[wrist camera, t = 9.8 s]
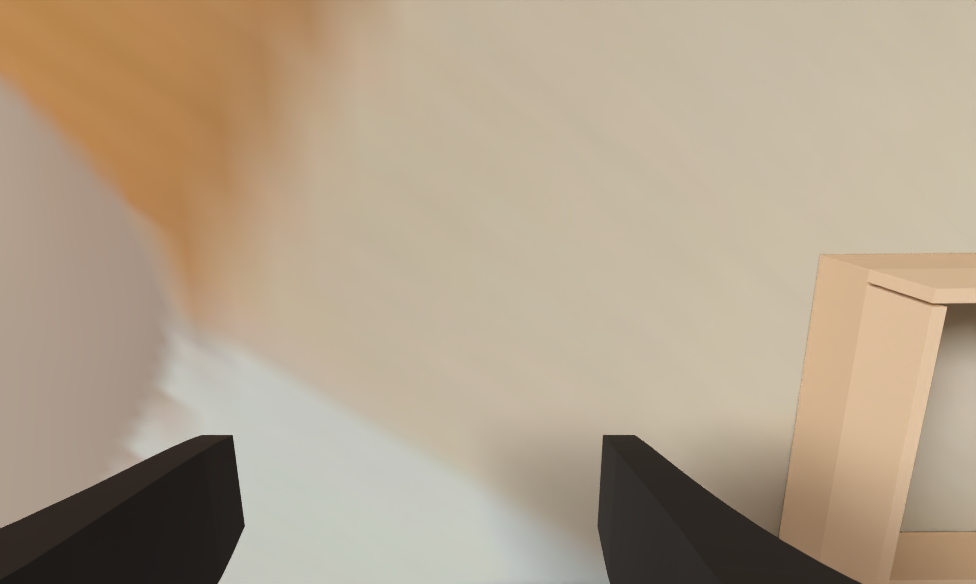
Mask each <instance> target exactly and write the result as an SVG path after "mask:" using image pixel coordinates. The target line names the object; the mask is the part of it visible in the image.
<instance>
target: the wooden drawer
mask: <svg viewBox="0 0 976 584" xmlns="http://www.w3.org/2000/svg"><path fill="white" fill-rule="evenodd" d="M937 303H976V253H958V254H849V255H820V260H819V267H818V274H817V281H816V287H815V294H814V301H813V308H812V315H811V321H810V328H809V335H808V342H807V349H806V355H805V362H804V369H803V376H802V383H801V389H800V396H799V403H798V410H797V417H796V423H795V430H794V437H793V444H792V451H791V457H790V464H789V471H788V478H787V485H786V491H785V498H784V505H783V512H782V519H781V525H780V532H779V539H781V540H782V541H784V542H786V543H788V544H789V545H791V546H793V547H795V548H796V549H798V550H800V551H802V552H803V553H805V554H807V555H809V556H810V557H812V558H814V559H816V560H817V561H819V562H821V563H823V564H825V565H827V566H828V567H830V568H832V569H834V570H836V571H838V572H840V573H842V574H844V575H846V576H848V577H850V578H852V579H854V580H856V581H858V582H860V583H862V584H976V532H900V528H901V523H902V518H903V514H904V509H905V504H906V499H907V495H908V490H909V485H910V480H911V476H912V471H913V466H914V462H915V457H916V452H917V447H918V443H919V438H920V433H921V429H922V424H923V419H924V414H925V410H926V405H927V400H928V396H929V391H930V386H931V381H932V377H933V372H934V367H935V363H936V358H937V353H938V348H939V344H940V339H941V334H942V330H943V325H944V320H945V315H946V311H947V307H946V306H943V305H940V304H937Z"/></svg>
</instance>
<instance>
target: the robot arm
mask: <svg viewBox="0 0 976 584" xmlns="http://www.w3.org/2000/svg"><path fill="white" fill-rule="evenodd" d="M244 527H245V525H244V517H243V510H242V502H241V495H240V487H239V480H238V472H237V465H236V457H235V450H234V442H233V435H201V436H198V437H195V438H192V439H190V440H187V441H185V442H182V443H180V444H178V445H176V446H174V447H171V448H169V449H167V450H165V451H163V452H161V453H159V454H157V455H155V456H152V457H150V458H148V459H146V460H144V461H142V462H140V463H138V464H136V465H134V466H132V467H130V468H128V469H126V470H124V471H122V472H120V473H118V474H116V475H114V476H112V477H110V478H108V479H106V480H104V481H102V482H100V483H98V484H96V485H94V486H92V487H90V488H88V489H85V490H83V491H81V492H79V493H77V494H75V495H73V496H70V497H68V498H66V499H64V500H62V501H60V502H57V503H55V504H53V505H51V506H49V507H47V508H44V509H42V510H40V511H38V512H36V513H34V514H31V515H29V516H28V517H25V518H23V519H21V520H19V521H16V522H14V523H12V524H9V525H7V526H5V527H3V528H0V584H218V582H219V580H220V579H221V577H222V575H223V573H224V571H225V569H226V567H227V565H228V562H229V560H230V558H231V556H232V554H233V552H234V550H235V547H236V545H237V543H238V540H239V538H240V536H241V533H242V531H243V529H244ZM598 530H599V535H600V541H601V546H602V551H603V556H604V560H605V565H606V570H607V574H608V578H609V581H610V584H862V583H860V582H858V581H856V580H854V579H852V578H850V577H848V576H846V575H844V574H842V573H840V572H838V571H836V570H834V569H832V568H830V567H828V566H827V565H825V564H823V563H821V562H819V561H817V560H816V559H814V558H812V557H810V556H809V555H807V554H805V553H803V552H802V551H800V550H798V549H796V548H795V547H793V546H791V545H789V544H788V543H786V542H784V541H782V540H781V539H779V538H777V537H776V536H774V535H773V534H771V533H769V532H768V531H766V530H764V529H763V528H761V527H760V526H758V525H757V524H755V523H754V522H752V521H751V520H749V519H748V518H746V517H745V516H743V515H742V514H740V513H739V512H737V511H736V510H734V509H733V508H731V507H730V506H728V505H727V504H725V503H724V502H723V501H721V500H720V499H718V498H717V497H716V496H714V495H713V494H711V493H710V492H709V491H707V490H706V489H705V488H703V487H702V486H701V485H699V484H698V483H697V482H695V481H694V480H693V479H691V478H690V477H689V476H687V475H686V474H685V473H683V472H682V471H681V470H680V469H678V468H677V467H676V466H674V465H673V464H672V463H671V462H669V461H668V460H667V459H666V458H664V457H663V456H662V455H660V454H659V453H658V452H657V451H655V450H654V449H653V448H652V447H650V446H649V445H648V444H646V443H645V442H644V441H642V440H641V439H640V438H638V437H637V436H635V435H603V446H602V462H601V479H600V495H599V512H598Z"/></svg>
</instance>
